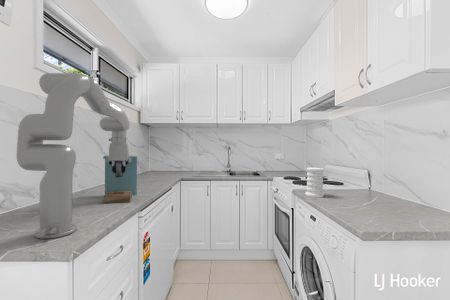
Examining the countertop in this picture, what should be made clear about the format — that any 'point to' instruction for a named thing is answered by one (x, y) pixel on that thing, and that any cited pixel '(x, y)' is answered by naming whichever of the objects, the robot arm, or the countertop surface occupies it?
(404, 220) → the countertop surface
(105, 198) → the socket block
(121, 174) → the peg
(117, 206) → the countertop surface
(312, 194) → the decorative container
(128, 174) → the teal upright box
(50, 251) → the countertop surface
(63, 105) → the robot arm
